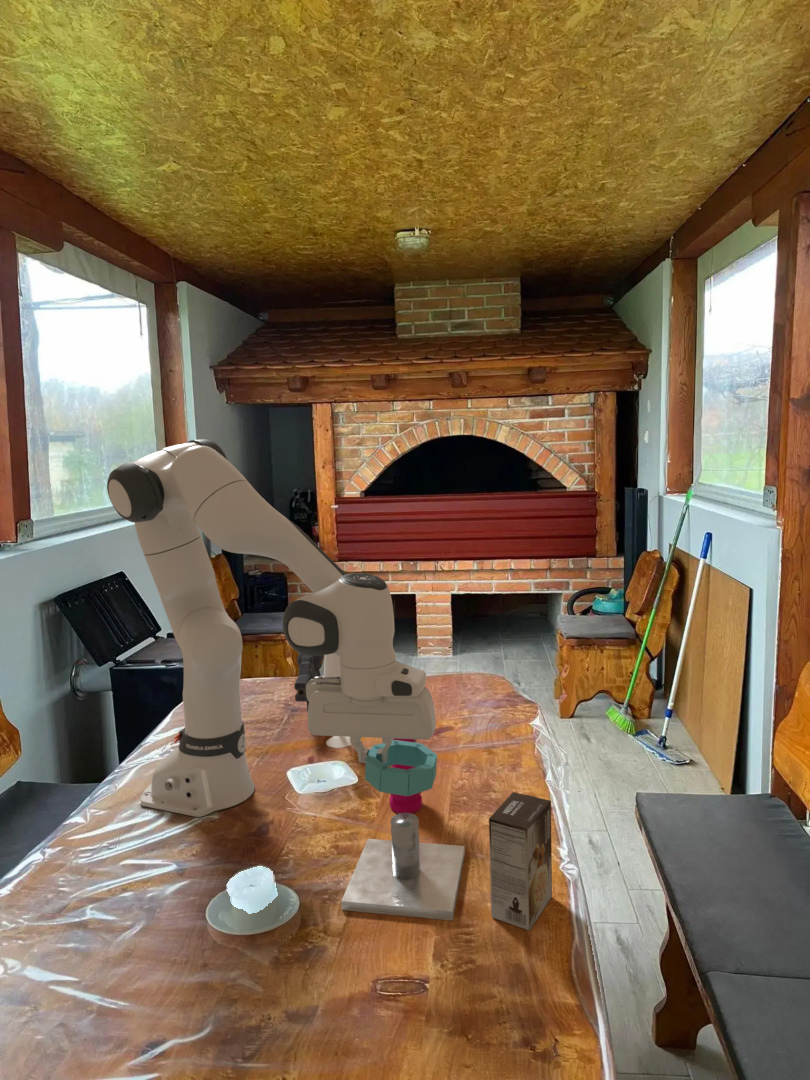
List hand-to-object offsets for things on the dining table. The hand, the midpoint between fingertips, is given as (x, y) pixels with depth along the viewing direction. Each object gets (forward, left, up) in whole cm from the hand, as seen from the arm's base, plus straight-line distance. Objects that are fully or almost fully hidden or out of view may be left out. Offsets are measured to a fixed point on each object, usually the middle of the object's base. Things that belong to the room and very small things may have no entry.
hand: (373, 761), depth 112 cm
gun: (-33, +65, -21) cm, 76 cm away
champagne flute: (-21, +50, -21) cm, 58 cm away
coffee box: (+23, -4, -21) cm, 31 cm away
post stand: (+5, 0, -20) cm, 21 cm away
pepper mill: (0, +23, -21) cm, 31 cm away
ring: (+4, 0, -2) cm, 5 cm away
